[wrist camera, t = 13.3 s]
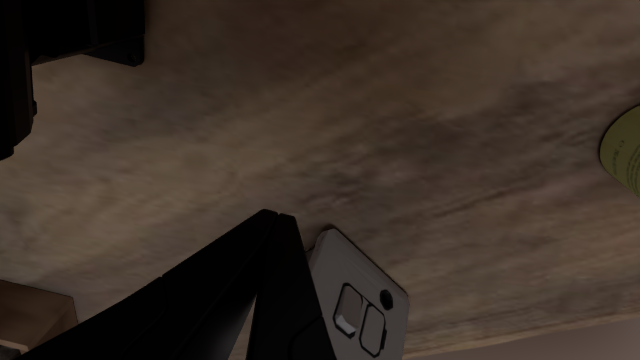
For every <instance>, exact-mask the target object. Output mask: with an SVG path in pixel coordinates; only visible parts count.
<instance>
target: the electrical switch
mask: <svg viewBox="0 0 640 360" xmlns="http://www.w3.org/2000/svg"><path fill="white" fill-rule="evenodd" d="M305 254H306V257H307V261H308V264H309V268H310V271H311V275H312V278H313V282H314V285H315V289H316V292H317V296H318V299H319V303H320V306H321V310H322V313H323V316H322V317H324V320H325V323H326V327H327V330H328V334H329V337H330V340H331V343H332V346H333V349H334V352H335V355H336V358H337V360H402V355H403V348H404V341H405V334H406V327H407V320H408V313H409V306H410V304H409V301H408V298H407V295H406V294H405V292H403V291H402V290H401V289H400V288H399V287H398V286H397V285H396V284H395V283H394V282H393V281H392V280H390V279H389V278H388V277H387V276H386V275H385V274H384V273H383V272H382V271H381V270H380V269H379V268H377V267H376V266H375V265H374V264H373V263H372V262H371V261H370V260H369V259H368V258H367V257H366V256H364V255H363V254H362V253H361V252H360V251H359V250H358V249H357V248H356V247H355V246H354V245H353V244H351V243H350V242H349V241H348V240H347V239H346V238H345V237H344V236H343V235H342V234H341V233H340V232H338V231H337V230H336V229H330V230H326V231H323V232H322V233H321V234H320V235H319V237H318V239H317V242H316V244H315V248H314V249H312V250H310V251H308V252H306V253H305Z"/></svg>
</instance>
